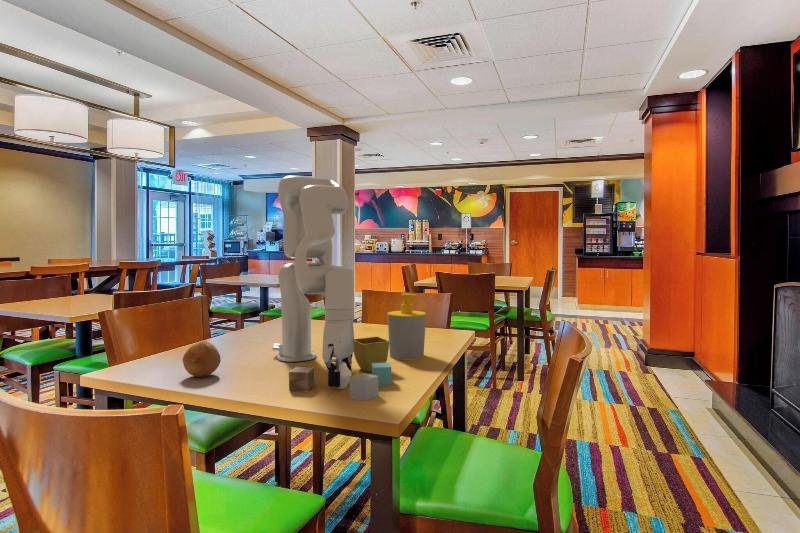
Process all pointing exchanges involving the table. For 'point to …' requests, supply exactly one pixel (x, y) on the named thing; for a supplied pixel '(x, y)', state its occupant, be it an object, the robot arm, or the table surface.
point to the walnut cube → (301, 379)
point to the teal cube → (382, 373)
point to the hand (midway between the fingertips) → (339, 382)
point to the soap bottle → (406, 331)
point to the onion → (201, 359)
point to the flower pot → (370, 351)
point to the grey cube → (363, 386)
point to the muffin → (343, 375)
